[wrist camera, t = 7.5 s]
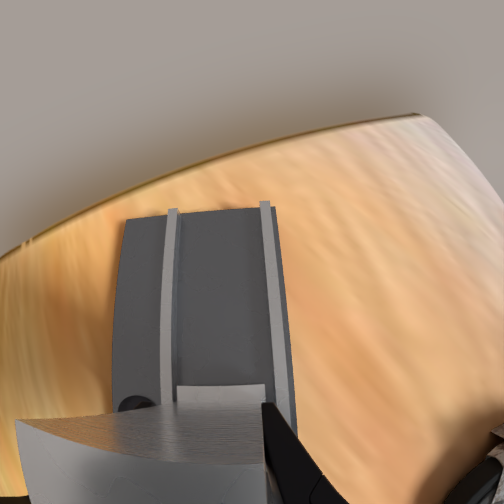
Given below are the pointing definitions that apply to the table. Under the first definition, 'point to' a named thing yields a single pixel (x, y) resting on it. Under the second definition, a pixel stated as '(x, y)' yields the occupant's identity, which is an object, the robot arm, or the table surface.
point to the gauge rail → (202, 308)
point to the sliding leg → (152, 452)
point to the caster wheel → (483, 479)
